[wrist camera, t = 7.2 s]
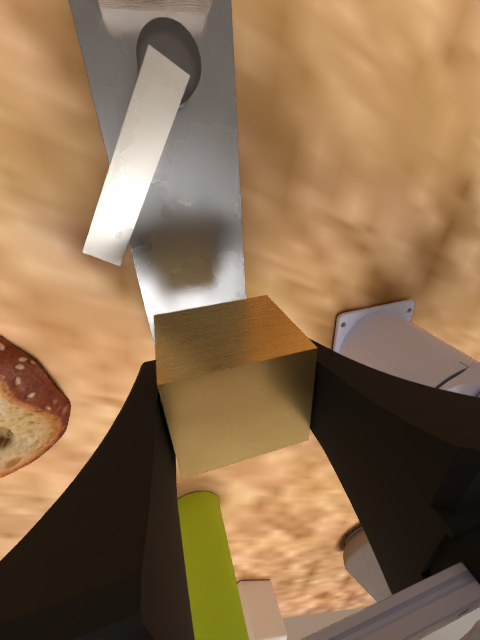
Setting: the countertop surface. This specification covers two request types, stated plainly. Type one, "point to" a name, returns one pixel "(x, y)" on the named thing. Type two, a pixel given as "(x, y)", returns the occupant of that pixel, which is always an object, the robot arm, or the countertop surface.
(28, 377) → the bread slice
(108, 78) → the grey piece
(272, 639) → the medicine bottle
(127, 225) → the steel lever
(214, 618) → the soap dispenser
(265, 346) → the brushed gold cube
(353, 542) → the coffee pot
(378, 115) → the countertop surface
